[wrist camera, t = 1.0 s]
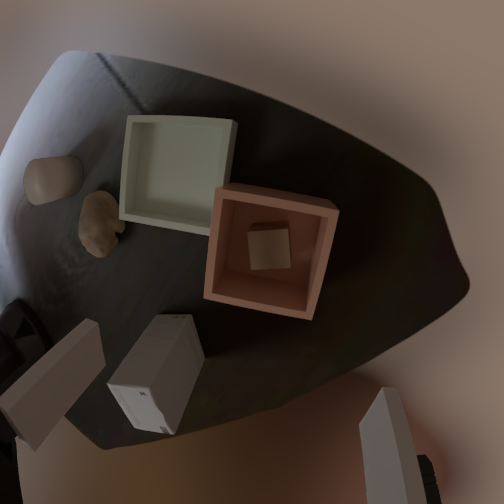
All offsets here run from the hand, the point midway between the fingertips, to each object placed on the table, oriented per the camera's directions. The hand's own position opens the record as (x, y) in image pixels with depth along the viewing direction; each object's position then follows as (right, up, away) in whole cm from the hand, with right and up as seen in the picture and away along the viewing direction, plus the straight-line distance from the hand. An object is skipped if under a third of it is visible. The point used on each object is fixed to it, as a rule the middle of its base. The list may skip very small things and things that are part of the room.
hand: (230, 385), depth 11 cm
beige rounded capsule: (-25, +17, +23) cm, 38 cm away
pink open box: (+3, +7, +21) cm, 23 cm away
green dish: (-7, +15, +21) cm, 27 cm away
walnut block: (+3, +7, +21) cm, 22 cm away
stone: (-19, +10, +24) cm, 32 cm away
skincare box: (-9, -7, +28) cm, 30 cm away
